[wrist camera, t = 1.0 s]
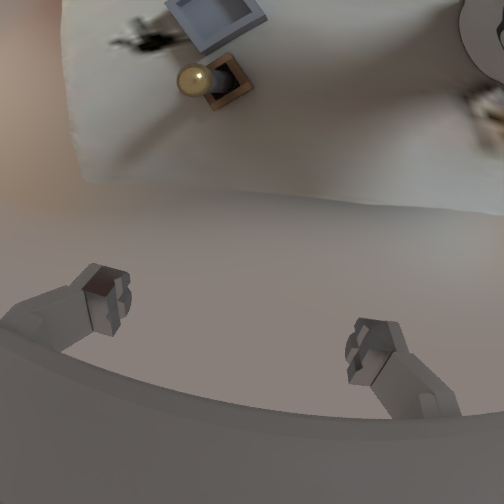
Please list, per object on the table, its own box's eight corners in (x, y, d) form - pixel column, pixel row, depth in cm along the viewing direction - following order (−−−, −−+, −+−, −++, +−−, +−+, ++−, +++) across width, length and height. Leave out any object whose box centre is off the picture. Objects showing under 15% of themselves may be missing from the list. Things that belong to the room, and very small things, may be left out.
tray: (230, -28, 30) (225, -36, 27) (267, 19, 34) (265, 14, 31) (173, 7, 34) (163, 3, 31) (207, 55, 38) (200, 52, 35)
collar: (232, 54, 37) (227, 52, 35) (254, 88, 39) (251, 88, 37) (197, 76, 39) (190, 76, 37) (218, 109, 42) (213, 111, 39)
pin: (229, 65, 38) (194, 55, 24) (242, 85, 39) (214, 84, 26) (208, 78, 39) (164, 76, 26) (221, 98, 41) (183, 105, 27)
